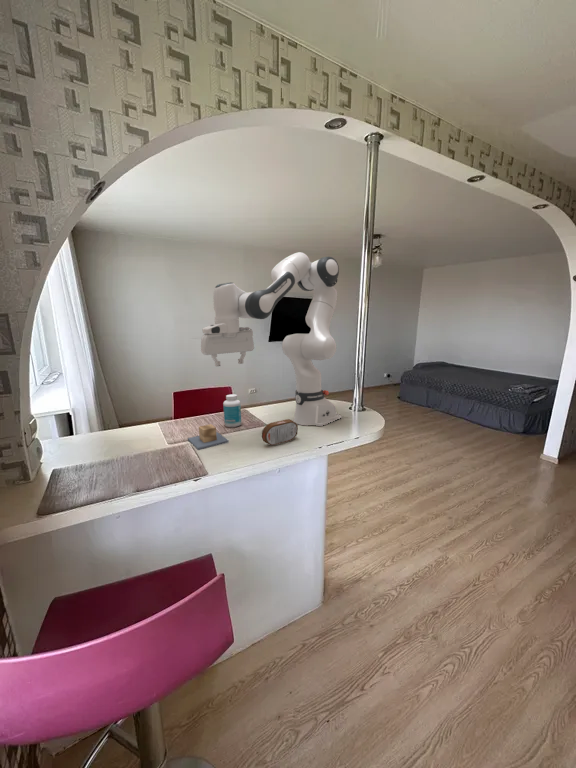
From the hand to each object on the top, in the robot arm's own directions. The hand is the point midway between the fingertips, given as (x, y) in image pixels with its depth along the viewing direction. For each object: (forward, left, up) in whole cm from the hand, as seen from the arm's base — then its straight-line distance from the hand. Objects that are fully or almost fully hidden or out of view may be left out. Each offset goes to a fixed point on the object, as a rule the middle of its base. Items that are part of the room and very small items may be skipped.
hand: (229, 364), depth 125 cm
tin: (-12, +16, -29) cm, 36 cm away
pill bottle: (-6, -14, -29) cm, 33 cm away
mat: (+10, -2, -29) cm, 31 cm away
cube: (+10, -2, -28) cm, 30 cm away
